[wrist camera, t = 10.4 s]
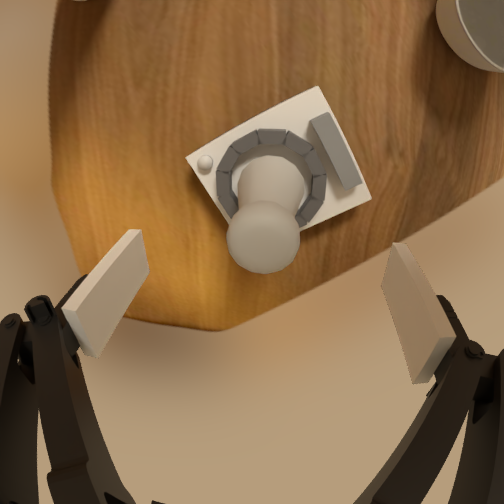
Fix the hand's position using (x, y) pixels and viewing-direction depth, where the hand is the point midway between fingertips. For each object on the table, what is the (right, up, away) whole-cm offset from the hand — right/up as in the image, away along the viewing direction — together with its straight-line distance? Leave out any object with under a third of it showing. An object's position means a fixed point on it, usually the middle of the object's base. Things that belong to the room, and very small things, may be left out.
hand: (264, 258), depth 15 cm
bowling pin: (+1, +7, +13) cm, 15 cm away
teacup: (+23, +26, +3) cm, 35 cm away
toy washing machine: (+2, +9, +15) cm, 18 cm away
